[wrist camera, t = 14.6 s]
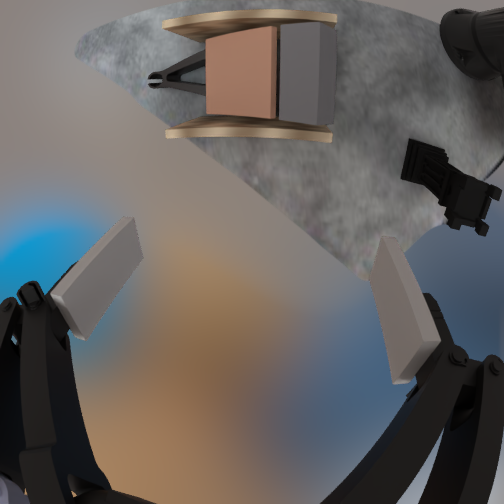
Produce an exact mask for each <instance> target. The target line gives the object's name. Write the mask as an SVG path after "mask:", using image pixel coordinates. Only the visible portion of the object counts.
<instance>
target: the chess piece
mask: <svg viewBox="0 0 504 504" xmlns="http://www.w3.org/2000/svg"><path fill="white" fill-rule="evenodd" d="M448 159H449V157H447V154H446V153H445V150H444V149H441V148H438V147H435V146H432V145H429V144H426V143H423V142H420V141H416V140H413V139H409V141H408V147H407V151H406V156H405V161H404V165H403V170H402V174H401V179H402V180H406V181H409V182H413V183H417V184H421V185H424V186H425V187H426V188H428V189H429V190H430V191H431V192H432V193H433V194H434V195H435V196H436V197H437V198H438V199H439V201H438V204H439V205H440V206H444V207H447V208H446V211H445V214H444V215H445V216H446V218H447V219H448V223H447V224H448V226H449V227H450V228H452V229H456V230H460V227H461V225H466V226H470V227H475V231H476V233H477V234H478V235H481V236H486V234H487V232H488V229H489V226H488V225H487V224H486V223H485V222H483V221H482V220H481V219H485V217H486V215H487V212H488V209H489V206H490V203H491V200H492V199H495V200H497V201H499V199H500V196H501V193H502V190H501V189H500V188H498V187H496V186H494V185H492V184H491V185H489V184H488V183H485V182H483V181H480V180H478V179H476V178H475V177H472V176H469V175H467V174H464V173H463V172H461V171H460V170H458V169H457V168H455V167H454V166H452V165H451V164H449V163H448ZM489 196H490V197H491V198H492V199H491V198H490V197H489Z"/></svg>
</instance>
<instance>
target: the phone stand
mask: <svg viewBox="0 0 504 504" xmlns="http://www.w3.org/2000/svg"><path fill="white" fill-rule="evenodd" d="M203 66H206V49H205V50H203V51H201V52H199V53H196V54H194V55H192V56H190V57H188V58H186V59H184V60H182V61H180V62H178V63H177V64H175V65H173V66H171V67H169V68H167V69H165V70H163V71H160V72H153V73H151V74H150V75H149V77H148V79H163V80H162V81H163V82H162V83H149V84H148V85H149V87H151V88H154V89H155V88H168V87H170V88H175V89H179V90H184V91H188V92H193V93H197V94H201V95H205V96H206V84H199V83H191V82H183V81H181V80H180V76H181V75H182V74H185V73H187V72H190V71H192V70H195V69H197V68H200V67H203Z"/></svg>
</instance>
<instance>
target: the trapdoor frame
mask: <svg viewBox="0 0 504 504" xmlns="http://www.w3.org/2000/svg"><path fill="white" fill-rule="evenodd" d="M307 22H321V23H323V24H325V25H327V26H329V27H331V28H334V27H335V25H336V24H337V14H330V13H322V12H312V11H300V10H278V9H257V10H235V11H222V12H213V13H205V14H197V15H191V16H185V17H179V18H174V19H169V20H164V21H162V29H165V30H168V31H171V32H173V33H176V34H179V35H182V36H184V37H187V38H190V39H192V40H195V41H197V42H199V43H201V42H206V39H209V38H213V37H217V36H221V35H225V34H230V33H234V32H239V31H244V30H250V29H256V28H262V27H268V26H273V27H276V28H277V39H280V38H281V25H284V24H294V23H307ZM332 136H333V133H332V132H331V131H330V130H329V129H328V127H327V126H326V125H311V124H305V123H298V122H292V121H285V120H279V117H275V118H272V119H269V118H259V117H249V116H202V117H198V118H196V119H193V120H190V121H187V122H185V123H182V124H179V125H177V126H174V127H171V128H169V129H167V130H166V139H167V138H185V137H265V138H284V139H298V140H309V141H319V142H328V143H332Z"/></svg>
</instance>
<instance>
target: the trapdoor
mask: <svg viewBox="0 0 504 504" xmlns="http://www.w3.org/2000/svg"><path fill="white" fill-rule="evenodd" d="M276 68H277V28H276V27H273V26H268V27H262V28H256V29H250V30H244V31H239V32H234V33H230V34H225V35H221V36H217V37H213V38H209V39H206V109H207V114H221V115H237V116H249V117H259V118H269V119H272V118H275V117H276ZM336 69H337V30H335V29H333V28H331V27H329V26H327V25H325V24H323V23H321V22H307V23H294V24H284V25H281V38H280V100H279V120H285V121H292V122H298V123H305V124H311V125H329V124H334V109H335V93H336Z"/></svg>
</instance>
